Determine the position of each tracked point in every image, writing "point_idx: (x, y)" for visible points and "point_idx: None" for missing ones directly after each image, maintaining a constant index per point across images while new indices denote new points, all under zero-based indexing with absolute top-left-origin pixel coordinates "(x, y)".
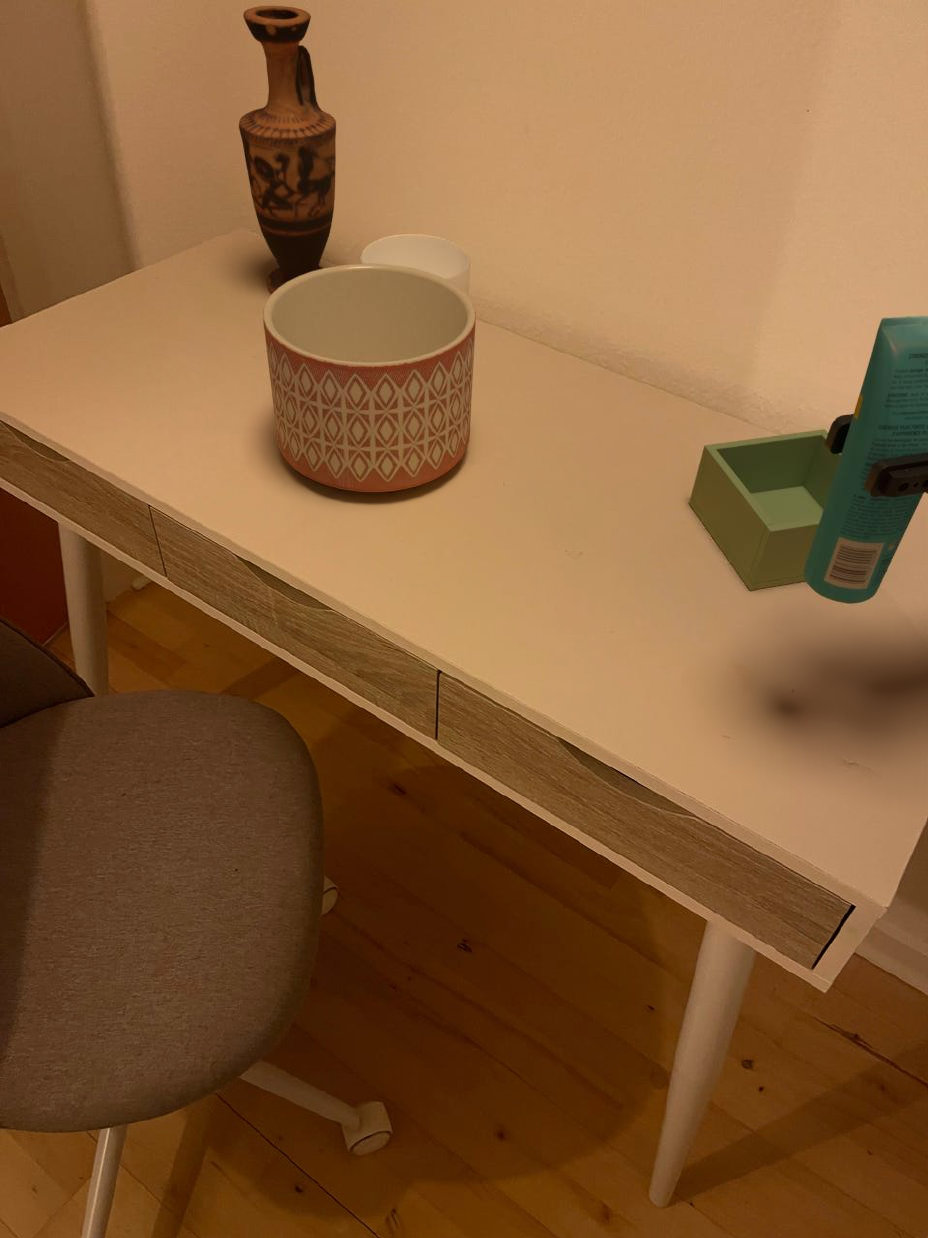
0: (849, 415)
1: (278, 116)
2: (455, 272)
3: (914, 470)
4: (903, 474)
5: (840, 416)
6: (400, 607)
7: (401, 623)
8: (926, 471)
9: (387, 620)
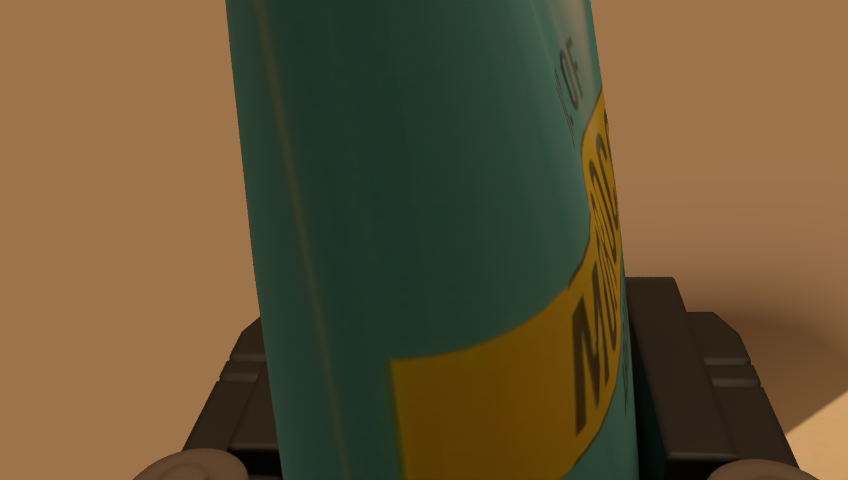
0: (740, 359)
1: None
2: None
3: (251, 382)
4: (255, 341)
5: (730, 331)
6: (839, 443)
7: (800, 438)
8: (216, 418)
9: (805, 425)
